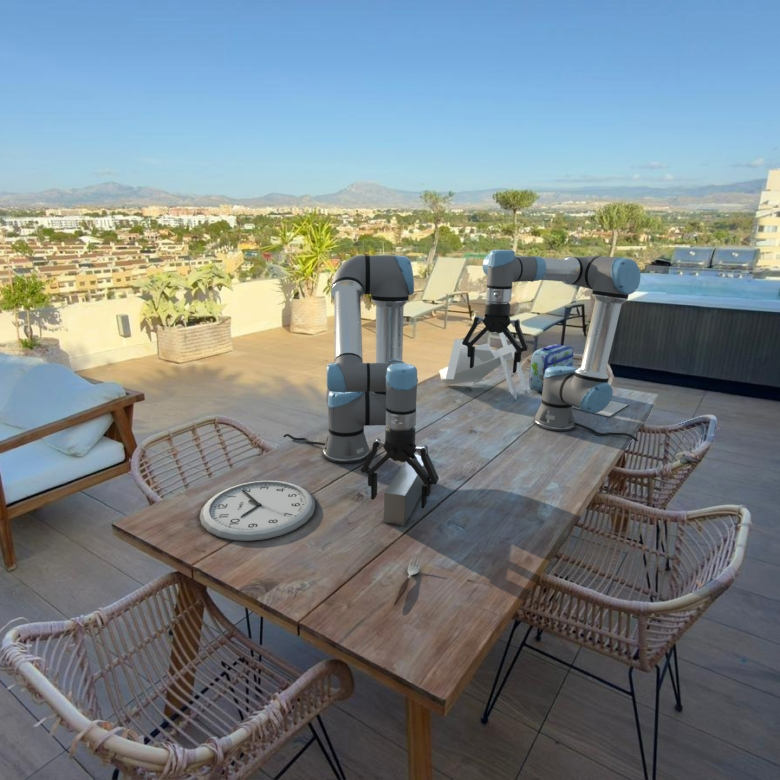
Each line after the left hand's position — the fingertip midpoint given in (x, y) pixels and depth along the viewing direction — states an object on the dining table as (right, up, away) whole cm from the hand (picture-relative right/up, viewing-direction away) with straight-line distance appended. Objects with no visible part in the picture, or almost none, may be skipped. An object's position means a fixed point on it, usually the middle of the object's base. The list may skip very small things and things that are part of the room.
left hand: (398, 501), depth 137 cm
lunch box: (+74, +30, +113) cm, 139 cm away
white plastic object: (+39, +28, +106) cm, 117 cm away
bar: (+3, -2, +9) cm, 10 cm away
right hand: (+30, +36, +29) cm, 55 cm away
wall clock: (-37, -3, +3) cm, 38 cm away
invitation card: (+89, +22, +90) cm, 128 cm away
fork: (+1, -12, -25) cm, 28 cm away
